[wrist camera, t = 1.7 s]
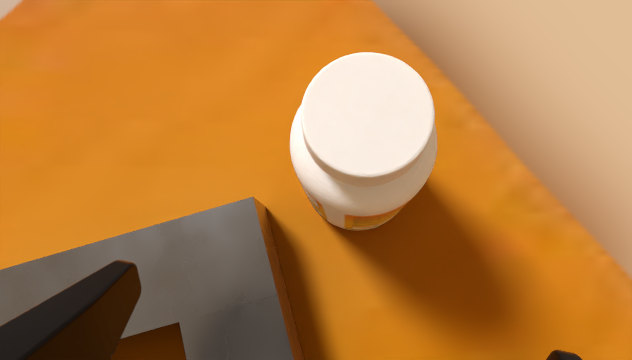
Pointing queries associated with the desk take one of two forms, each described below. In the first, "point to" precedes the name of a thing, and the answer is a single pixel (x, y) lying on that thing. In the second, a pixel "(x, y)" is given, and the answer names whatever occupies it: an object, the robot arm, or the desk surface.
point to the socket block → (185, 283)
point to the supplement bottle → (364, 139)
